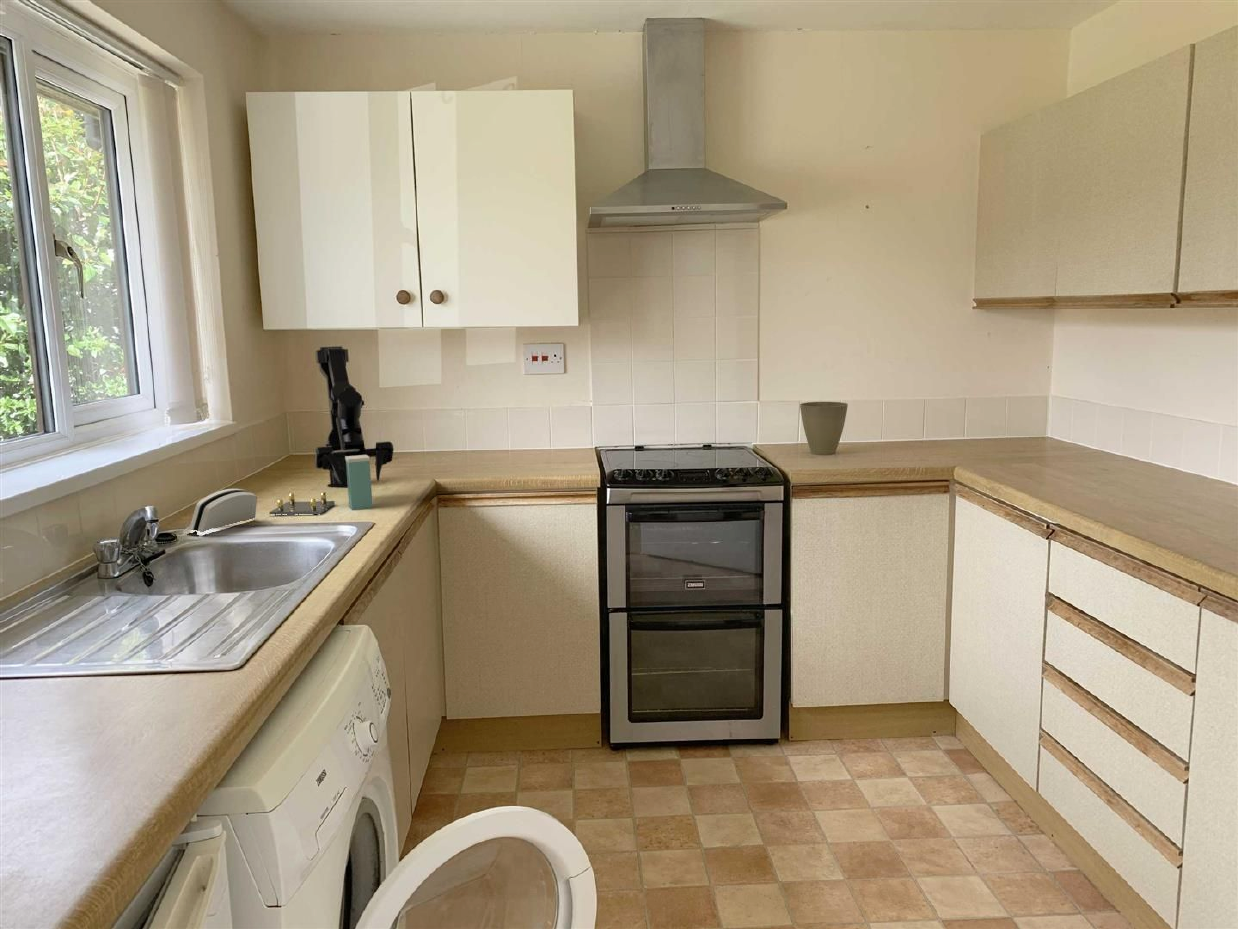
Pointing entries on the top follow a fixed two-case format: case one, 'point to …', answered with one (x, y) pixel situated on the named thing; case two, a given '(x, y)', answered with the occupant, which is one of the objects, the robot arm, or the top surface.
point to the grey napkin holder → (223, 509)
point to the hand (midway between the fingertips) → (359, 481)
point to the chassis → (302, 506)
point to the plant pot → (823, 425)
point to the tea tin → (359, 482)
